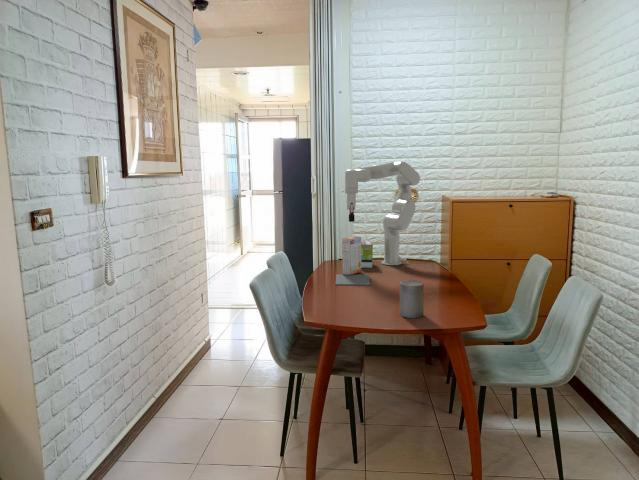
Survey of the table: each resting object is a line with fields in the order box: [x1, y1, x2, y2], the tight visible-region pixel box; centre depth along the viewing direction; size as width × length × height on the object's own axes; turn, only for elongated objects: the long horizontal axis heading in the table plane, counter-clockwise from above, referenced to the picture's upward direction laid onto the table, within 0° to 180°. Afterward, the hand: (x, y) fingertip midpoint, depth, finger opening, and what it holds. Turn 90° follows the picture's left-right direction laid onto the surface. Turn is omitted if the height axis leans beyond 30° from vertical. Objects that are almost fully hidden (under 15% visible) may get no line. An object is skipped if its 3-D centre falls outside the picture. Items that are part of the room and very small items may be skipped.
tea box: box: [361, 240, 374, 269], centre depth 294 cm, size 15×10×15 cm
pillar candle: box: [399, 279, 425, 319], centre depth 193 cm, size 10×10×15 cm
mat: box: [335, 273, 371, 286], centre depth 256 cm, size 18×23×1 cm
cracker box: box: [341, 235, 362, 275], centre depth 270 cm, size 14×6×21 cm, turn 149°
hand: (351, 220), depth 278 cm, fingers open, 6 cm apart
